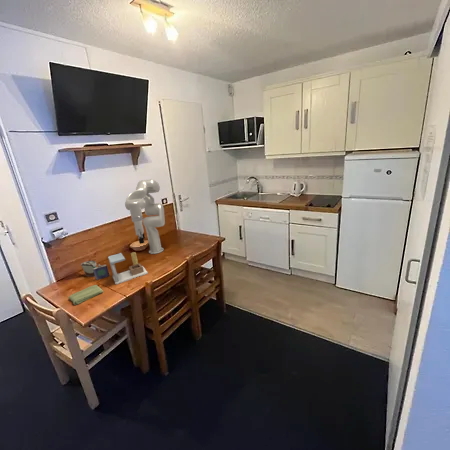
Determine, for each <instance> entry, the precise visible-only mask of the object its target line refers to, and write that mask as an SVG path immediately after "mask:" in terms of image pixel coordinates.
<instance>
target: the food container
mask: <svg viewBox="0 0 450 450" xmlns="http://www.w3.org/2000/svg"><path fill="white" fill-rule="evenodd" d="M80 266H81V267H82V269H83V273H84V274H85V276H86V277H94V278H95V275H94V271H93V269H94V268H96V267H97V266H98V264H97V262H96V261H95V260H87V261H84V262H81V263H80Z"/></svg>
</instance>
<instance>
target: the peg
mask: <svg viewBox="0 0 450 450" xmlns="http://www.w3.org/2000/svg"><path fill="white" fill-rule="evenodd" d="M130 255H131V260H132V266H133V265H136V264H139V261H138V257H137V253H136V251H133V252H131V253H130Z"/></svg>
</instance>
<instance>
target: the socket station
mask: <svg viewBox="0 0 450 450" xmlns="http://www.w3.org/2000/svg"><path fill="white" fill-rule="evenodd" d="M107 259H108V261H109V265H110V269H111V272H112V273H111V274H112V279H113V282H114V284H115V285H120V284H122V283H125V282H128V281H130V280H134V279H136V277H137V278H140V277H143V276H145V275H148V274H149V273H148V271H147V270H146V268H145V267H144V265H142V264H141V262H138V264H136V265H133V264H132V265H130V266H128V267H129V268H128V270H126V271H125V270H124V271H122V272H120V273H119V272H117V269H116V265H115V264H116V263H121V262H123V261H126V258H125V256H124V255H123V253H122V252H119V253H117V254H112V255H109V256H108V257H107ZM139 276H140V277H139ZM133 278H134V279H133Z"/></svg>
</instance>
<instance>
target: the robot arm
mask: <svg viewBox="0 0 450 450" xmlns="http://www.w3.org/2000/svg"><path fill="white" fill-rule="evenodd" d="M136 185H137V186H136V188H135V190H134V191H132V192H130V193H129V194H128V195H127V196H126V199H125V203H124V205H125V208H126V210H127V211H129V212H130V216H131V217H130V219H131V221H132V223H133V225H134V230H135V231H134V232H135V236H137V237H138V242H139V243H138V244H145V239H146V237H145V233H144V232H146V236H147V240H148V244H149V245H148V246H149V250H148V253H149V254H150V255H157V254H159V253H162V252H164V249H165V248H164V247H162V243H161V238H160V234H159V233H160V232H159V230H158V229H157V228H160V227H164V226H165V224H166V221H165V220H166V219H165V218H166V217H165V208H164V205H163V204H162V203H160V202H158V203H155V197H154V196H152V195H151V194H155V193H159V192H160V190H161V189H160V188H161V187H160V184H159V183H158V182H157V181H156V180H155V179H152V178H151V179H143V180H139V181H138V182H137V184H136ZM143 209H144V214H145V215H146V217H143V212H142V211H143ZM143 225H144V226H143ZM144 228H145V231H144Z"/></svg>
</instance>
